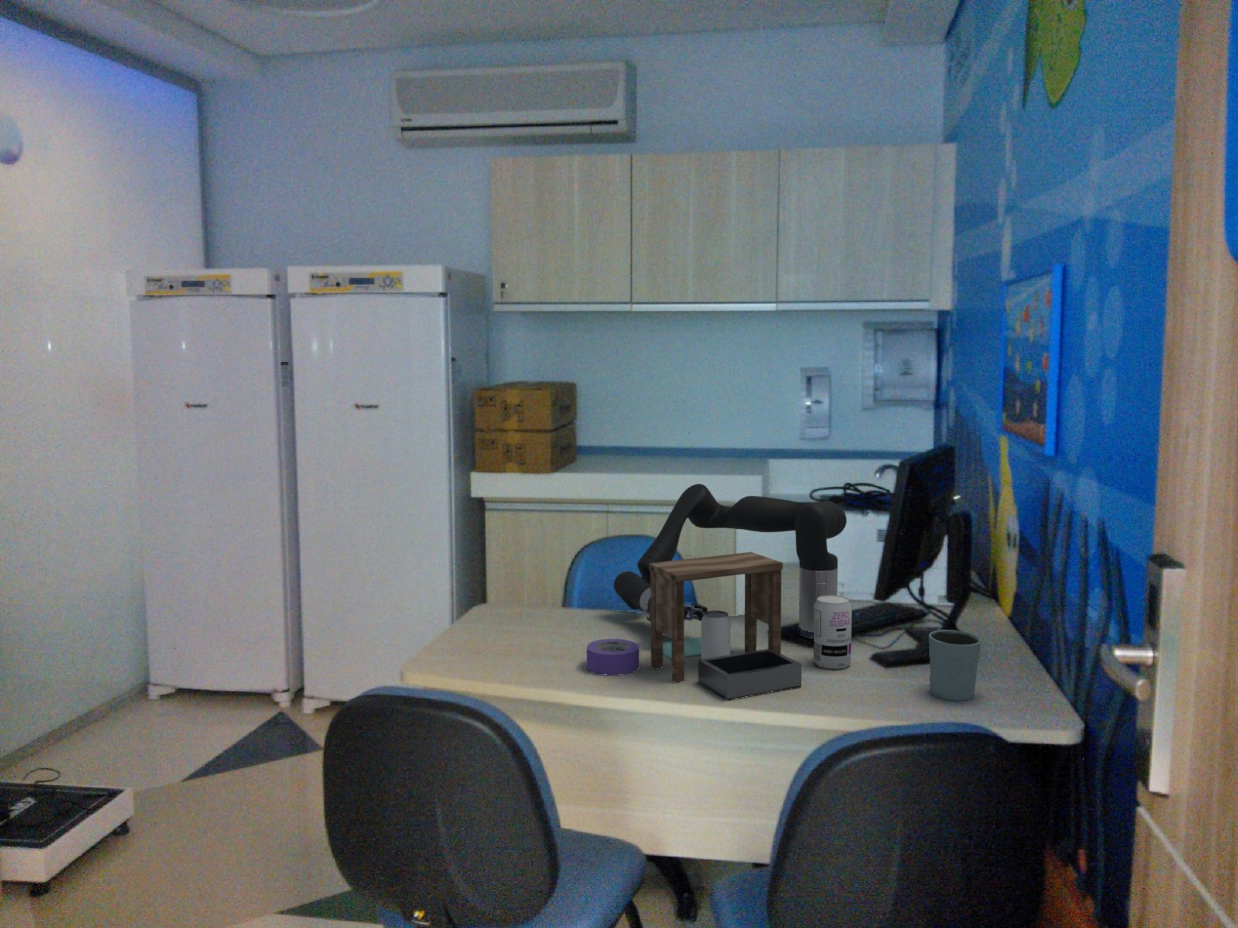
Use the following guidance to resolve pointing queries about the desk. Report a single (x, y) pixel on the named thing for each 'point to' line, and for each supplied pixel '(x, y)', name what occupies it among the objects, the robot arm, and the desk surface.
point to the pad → (690, 647)
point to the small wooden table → (672, 574)
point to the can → (715, 634)
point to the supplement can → (832, 632)
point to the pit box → (749, 673)
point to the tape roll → (612, 656)
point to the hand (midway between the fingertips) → (691, 621)
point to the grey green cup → (953, 664)
